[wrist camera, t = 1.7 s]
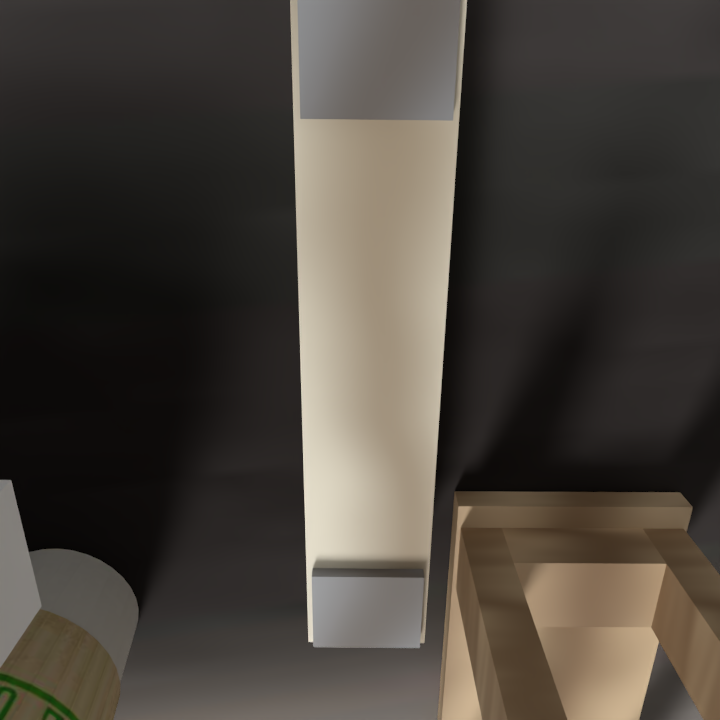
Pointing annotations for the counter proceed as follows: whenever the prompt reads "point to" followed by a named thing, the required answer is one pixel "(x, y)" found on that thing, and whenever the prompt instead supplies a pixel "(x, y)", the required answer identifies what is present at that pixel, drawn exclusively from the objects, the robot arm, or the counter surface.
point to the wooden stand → (574, 606)
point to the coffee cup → (71, 642)
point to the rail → (372, 300)
